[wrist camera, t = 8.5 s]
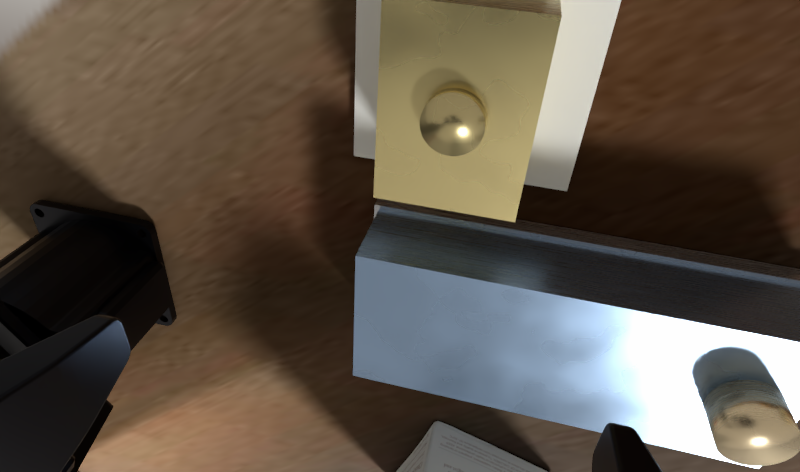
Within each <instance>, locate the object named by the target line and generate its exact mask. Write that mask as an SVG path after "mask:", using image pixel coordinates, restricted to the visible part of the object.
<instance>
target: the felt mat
mask: <svg viewBox="0 0 800 472" xmlns="http://www.w3.org/2000/svg"><path fill="white" fill-rule="evenodd" d="M560 2H561V12H562V17H561V22H560V26H559V31H558V35H557V39H556V44H555V48H554V53H553V57H552V62H551V66H550V70H549V75H548V79H547V84H546V88H545V92H544V97H543V101H542V106H541V110H540V115H539V119H538V123H537V128H536V132H535V137H534V141H533V145H532V150H531V154H530V159H529V163H528V168H527V172H526V176H525V181H524V184H526V185H532V186H538V187H544V188H550V189H556V190H562V191H567V190H568V186H569V183H570V179H571V176H572V172H573V168H574V165H575V161H576V158H577V154H578V151H579V147H580V144H581V140H582V137H583V133H584V130H585V126H586V123H587V119H588V116H589V112H590V109H591V105H592V102H593V98H594V95H595V91H596V88H597V84H598V81H599V77H600V73H601V70H602V66H603V63H604V59H605V56H606V52H607V49H608V45H609V42H610V38H611V35H612V31H613V28H614V24H615V21H616V17H617V14H618V10H619V7H620V3H621V0H560ZM380 23H381V0H356V54H355V112H354V156H357V157H363V158H369V159H375V145H376V121H377V96H378V72H379V47H380Z"/></svg>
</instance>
